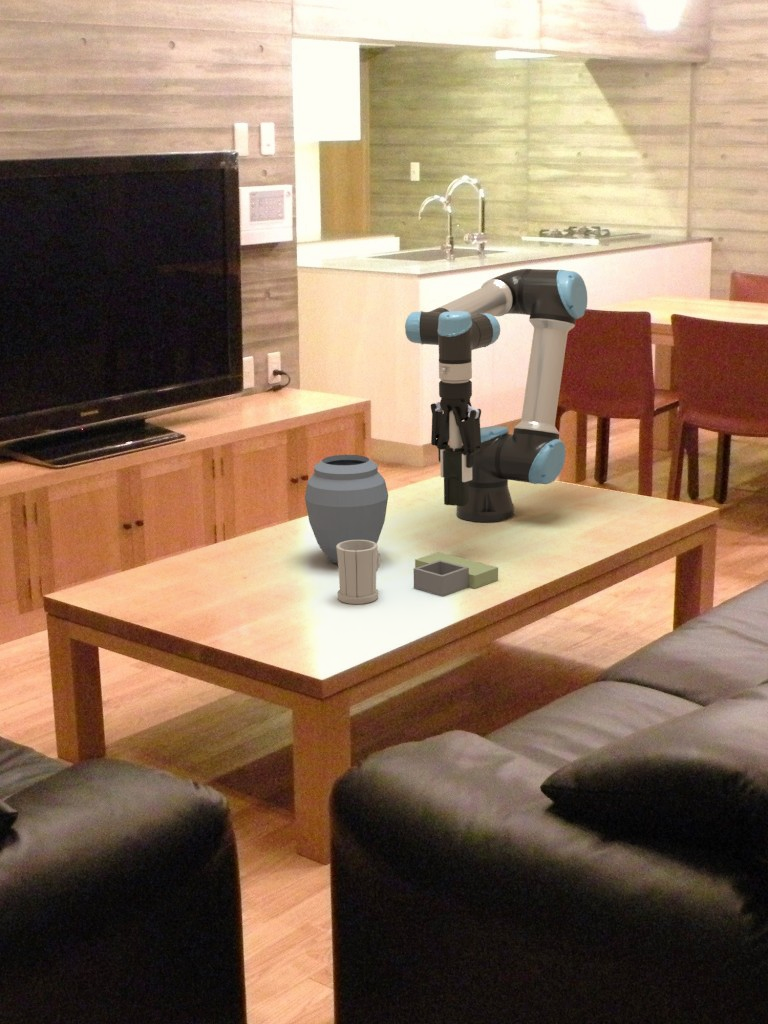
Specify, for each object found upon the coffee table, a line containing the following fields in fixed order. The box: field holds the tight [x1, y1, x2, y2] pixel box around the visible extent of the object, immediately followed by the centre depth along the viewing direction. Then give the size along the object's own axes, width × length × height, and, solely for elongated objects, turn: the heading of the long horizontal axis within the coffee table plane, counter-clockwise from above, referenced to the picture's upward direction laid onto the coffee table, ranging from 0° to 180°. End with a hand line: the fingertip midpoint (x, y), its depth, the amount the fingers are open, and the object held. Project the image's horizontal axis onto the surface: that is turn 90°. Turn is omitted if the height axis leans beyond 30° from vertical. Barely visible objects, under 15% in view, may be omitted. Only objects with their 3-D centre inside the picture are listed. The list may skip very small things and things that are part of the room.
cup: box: [336, 540, 381, 605], centre depth 298 cm, size 10×9×12 cm
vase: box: [304, 454, 389, 565], centre depth 323 cm, size 20×20×24 cm
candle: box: [443, 411, 469, 507], centre depth 319 cm, size 5×5×25 cm
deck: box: [413, 551, 499, 597], centre depth 310 cm, size 18×17×4 cm
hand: (456, 478), depth 321 cm, fingers closed on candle, 6 cm apart
